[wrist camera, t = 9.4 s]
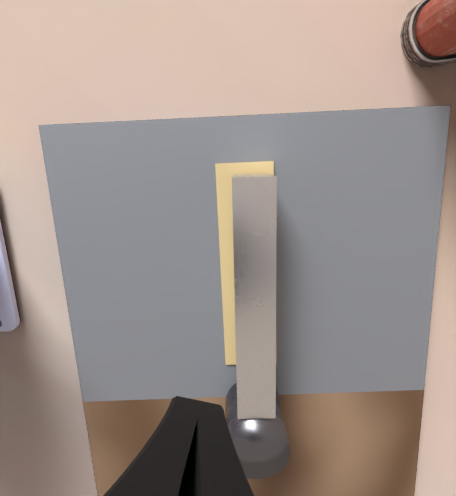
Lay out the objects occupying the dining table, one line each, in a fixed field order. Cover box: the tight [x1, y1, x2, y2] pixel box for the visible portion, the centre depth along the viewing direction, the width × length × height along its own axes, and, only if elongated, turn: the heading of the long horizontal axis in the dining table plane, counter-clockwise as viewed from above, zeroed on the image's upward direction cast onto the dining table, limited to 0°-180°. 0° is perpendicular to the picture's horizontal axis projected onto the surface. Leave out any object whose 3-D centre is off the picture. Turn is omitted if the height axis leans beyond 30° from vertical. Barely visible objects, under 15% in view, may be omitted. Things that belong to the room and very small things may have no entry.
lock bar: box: [225, 173, 290, 479], centre depth 16 cm, size 13×3×3 cm, turn 1°
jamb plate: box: [83, 390, 424, 496], centre depth 21 cm, size 18×12×1 cm, turn 93°
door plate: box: [39, 105, 451, 402], centre depth 18 cm, size 18×14×1 cm
